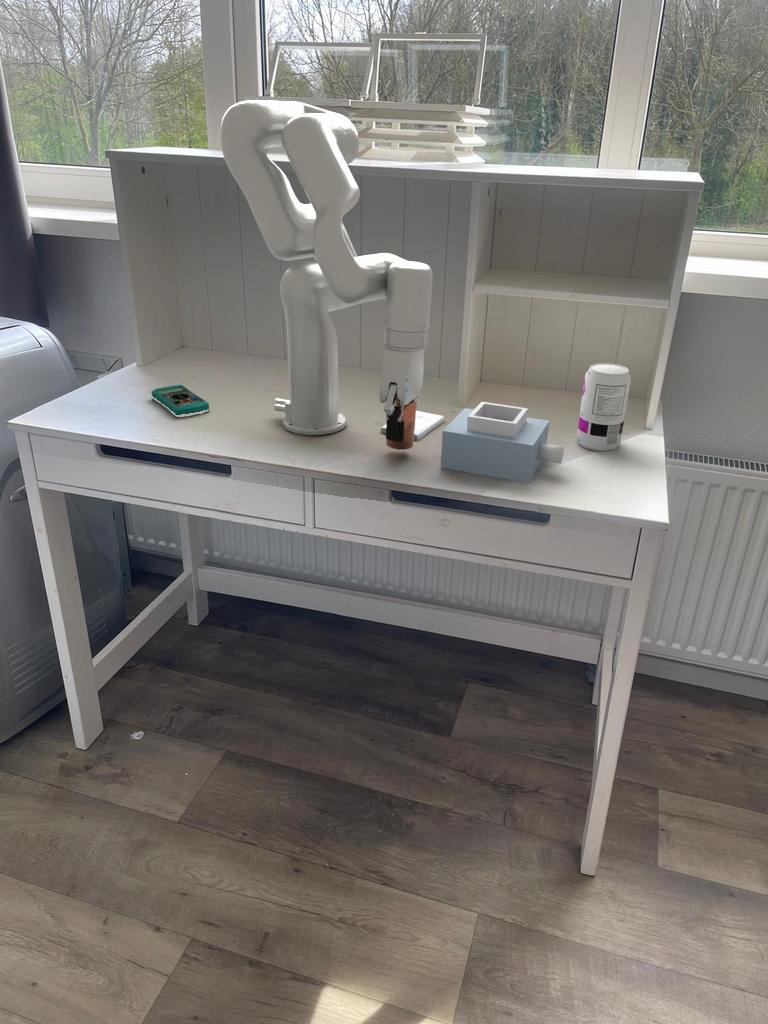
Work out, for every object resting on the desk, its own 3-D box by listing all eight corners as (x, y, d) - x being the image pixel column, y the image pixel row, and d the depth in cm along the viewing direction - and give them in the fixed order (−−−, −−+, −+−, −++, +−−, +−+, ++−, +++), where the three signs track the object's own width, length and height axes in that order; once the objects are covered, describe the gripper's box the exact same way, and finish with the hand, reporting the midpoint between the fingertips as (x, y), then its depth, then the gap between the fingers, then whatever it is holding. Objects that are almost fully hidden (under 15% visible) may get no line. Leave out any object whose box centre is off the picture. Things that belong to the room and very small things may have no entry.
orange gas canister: (382, 446, 143) (384, 395, 138) (392, 436, 147) (395, 387, 142) (407, 451, 141) (411, 400, 136) (417, 441, 145) (420, 391, 140)
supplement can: (567, 443, 151) (577, 367, 144) (591, 433, 156) (602, 359, 149) (604, 455, 146) (617, 377, 139) (627, 444, 151) (640, 369, 144)
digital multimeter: (178, 421, 159) (176, 407, 158) (151, 400, 170) (149, 387, 168) (211, 414, 163) (210, 401, 162) (183, 395, 174) (182, 382, 172)
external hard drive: (380, 434, 155) (408, 415, 164) (417, 442, 151) (443, 422, 161) (380, 427, 154) (408, 408, 164) (417, 434, 150) (444, 415, 160)
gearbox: (440, 467, 139) (443, 417, 135) (462, 442, 150) (465, 395, 146) (552, 487, 133) (558, 435, 128) (566, 460, 143) (573, 411, 139)
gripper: (403, 323, 143) (398, 416, 151) (366, 346, 129) (362, 447, 137) (442, 329, 140) (435, 423, 149) (409, 353, 126) (402, 456, 135)
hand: (400, 434), depth 143 cm, fingers closed on orange gas canister, 5 cm apart
